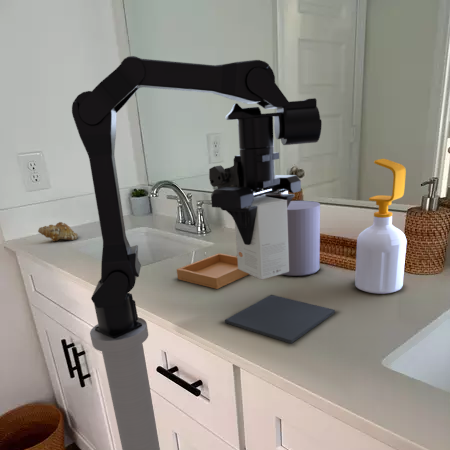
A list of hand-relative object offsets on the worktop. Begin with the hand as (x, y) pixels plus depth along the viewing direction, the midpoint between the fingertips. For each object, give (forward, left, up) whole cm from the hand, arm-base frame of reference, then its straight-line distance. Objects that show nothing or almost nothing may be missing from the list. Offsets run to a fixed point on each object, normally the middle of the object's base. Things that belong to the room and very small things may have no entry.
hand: (260, 239), depth 77 cm
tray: (+9, +20, -13) cm, 26 cm away
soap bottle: (+20, -14, -13) cm, 28 cm away
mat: (-3, -6, -13) cm, 15 cm away
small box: (0, 0, -6) cm, 6 cm away
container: (+21, +6, -13) cm, 26 cm away
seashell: (+8, +93, -13) cm, 94 cm away
